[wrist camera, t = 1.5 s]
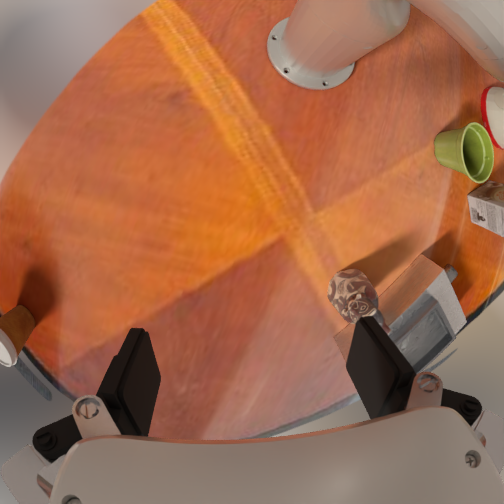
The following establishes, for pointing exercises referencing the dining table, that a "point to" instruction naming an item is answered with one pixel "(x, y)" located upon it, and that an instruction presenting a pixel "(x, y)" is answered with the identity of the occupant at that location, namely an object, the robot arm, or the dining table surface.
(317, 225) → the dining table surface
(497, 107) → the kitchen timer
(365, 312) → the figurine
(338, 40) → the robot arm
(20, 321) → the disposable coffee cup
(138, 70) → the dining table surface
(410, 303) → the grey box with knob
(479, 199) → the coffee box
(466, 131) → the plant pot
